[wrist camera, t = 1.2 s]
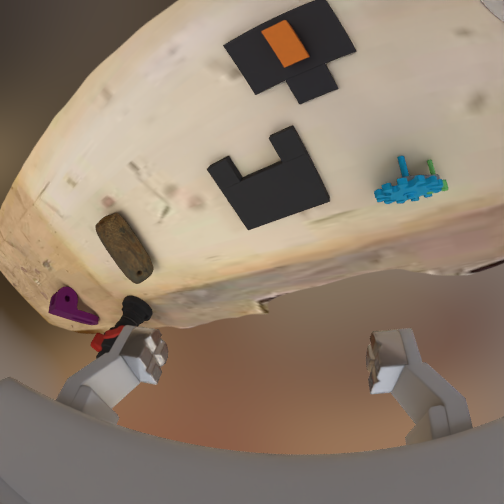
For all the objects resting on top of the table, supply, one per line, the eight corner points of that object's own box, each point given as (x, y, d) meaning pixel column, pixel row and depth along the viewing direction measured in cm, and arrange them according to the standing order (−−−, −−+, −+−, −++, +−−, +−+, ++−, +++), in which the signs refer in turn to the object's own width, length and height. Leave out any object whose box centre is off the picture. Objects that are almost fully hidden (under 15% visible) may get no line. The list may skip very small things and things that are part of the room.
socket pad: (293, 124, 35) (292, 127, 34) (329, 196, 41) (329, 201, 39) (210, 165, 41) (206, 169, 40) (250, 225, 47) (248, 230, 46)
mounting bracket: (104, 299, 88) (59, 283, 75) (102, 323, 84) (54, 308, 71) (94, 304, 92) (52, 289, 79) (92, 326, 88) (48, 312, 75)
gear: (369, 210, 38) (385, 189, 29) (362, 172, 39) (374, 142, 29) (434, 204, 36) (463, 184, 26) (425, 168, 37) (449, 140, 27)
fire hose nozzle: (60, 376, 58) (94, 384, 45) (104, 303, 78) (148, 286, 65) (87, 395, 62) (130, 407, 50) (125, 323, 82) (174, 311, 70)
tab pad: (323, -1, 22) (324, -10, 18) (367, 76, 28) (375, 80, 24) (226, 45, 29) (211, 45, 25) (271, 115, 35) (263, 126, 30)
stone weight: (164, 261, 58) (150, 284, 53) (143, 267, 61) (129, 288, 56) (121, 204, 50) (102, 224, 45) (102, 215, 53) (84, 235, 48)
